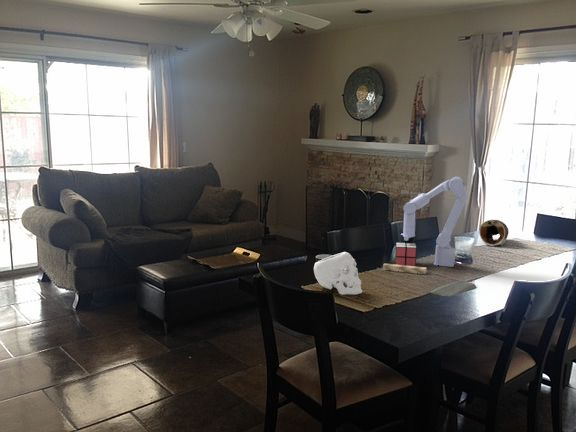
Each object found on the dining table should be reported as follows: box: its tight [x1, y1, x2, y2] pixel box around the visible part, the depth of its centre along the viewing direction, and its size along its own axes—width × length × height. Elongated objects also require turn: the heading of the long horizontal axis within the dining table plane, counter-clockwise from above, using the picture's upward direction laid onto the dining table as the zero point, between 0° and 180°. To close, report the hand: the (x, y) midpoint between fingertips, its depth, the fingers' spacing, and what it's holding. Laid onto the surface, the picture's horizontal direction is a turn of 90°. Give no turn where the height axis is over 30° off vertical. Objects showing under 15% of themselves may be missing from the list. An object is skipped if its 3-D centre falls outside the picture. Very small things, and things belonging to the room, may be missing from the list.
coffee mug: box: [315, 254, 333, 263], centre depth 235 cm, size 12×9×10 cm
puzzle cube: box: [394, 242, 418, 267], centre depth 258 cm, size 10×10×10 cm
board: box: [382, 263, 427, 275], centre depth 246 cm, size 20×3×2 cm, turn 67°
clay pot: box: [478, 219, 510, 247], centre depth 308 cm, size 15×15×25 cm
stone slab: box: [429, 280, 477, 297], centre depth 218 cm, size 22×3×10 cm
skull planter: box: [313, 251, 363, 296], centre depth 218 cm, size 14×20×19 cm
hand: (408, 251), depth 265 cm, fingers closed
